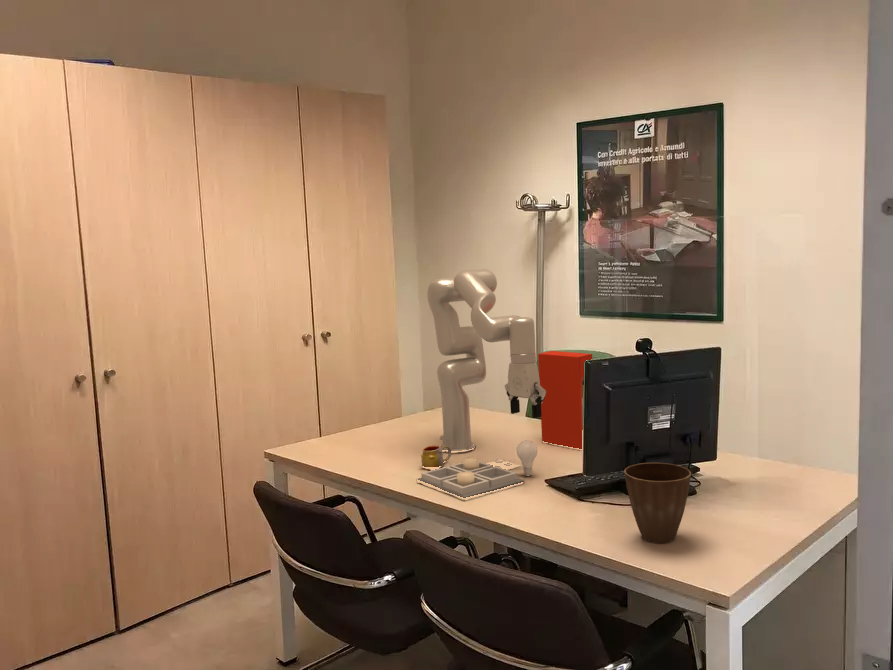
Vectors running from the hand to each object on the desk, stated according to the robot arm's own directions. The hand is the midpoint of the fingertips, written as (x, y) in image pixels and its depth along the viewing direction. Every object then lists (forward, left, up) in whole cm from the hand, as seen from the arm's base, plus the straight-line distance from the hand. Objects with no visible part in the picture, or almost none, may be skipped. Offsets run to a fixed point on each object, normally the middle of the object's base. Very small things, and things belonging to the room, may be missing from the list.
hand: (526, 415), depth 232 cm
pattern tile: (-14, 0, -19) cm, 24 cm away
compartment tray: (-7, -17, -19) cm, 26 cm away
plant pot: (+58, -11, -19) cm, 62 cm away
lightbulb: (0, 0, -19) cm, 19 cm away
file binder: (-17, +34, -19) cm, 43 cm away
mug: (-29, -13, -19) cm, 37 cm away
